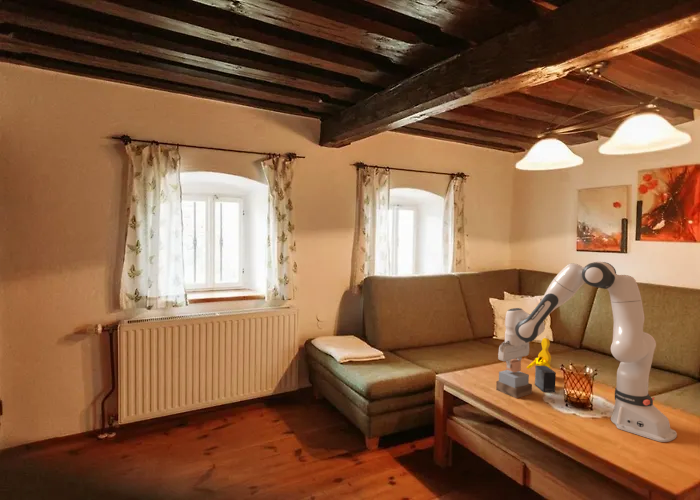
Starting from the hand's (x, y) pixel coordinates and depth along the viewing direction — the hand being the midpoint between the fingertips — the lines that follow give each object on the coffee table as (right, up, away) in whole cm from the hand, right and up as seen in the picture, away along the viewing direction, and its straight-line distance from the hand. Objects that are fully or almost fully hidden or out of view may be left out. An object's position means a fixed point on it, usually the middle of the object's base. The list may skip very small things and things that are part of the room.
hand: (513, 366), depth 206 cm
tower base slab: (0, -13, +1) cm, 14 cm away
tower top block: (0, -8, 0) cm, 9 cm away
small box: (+18, -13, +5) cm, 23 cm away
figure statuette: (+24, -12, +20) cm, 34 cm away
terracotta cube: (0, -2, 0) cm, 2 cm away
